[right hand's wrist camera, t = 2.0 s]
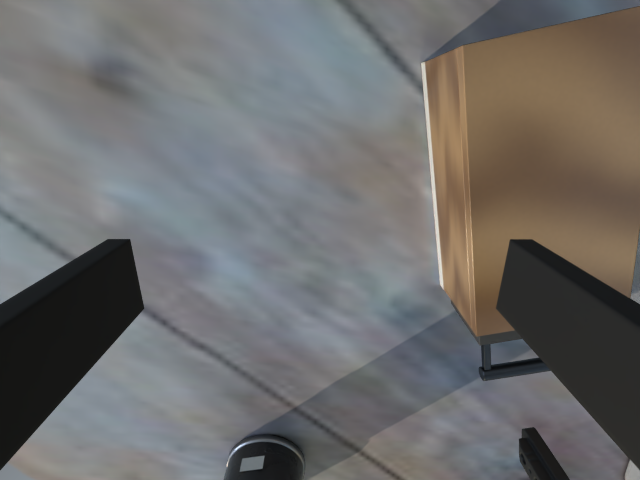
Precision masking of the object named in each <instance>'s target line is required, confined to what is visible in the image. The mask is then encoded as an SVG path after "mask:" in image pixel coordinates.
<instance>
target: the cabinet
mask: <svg viewBox="0 0 640 480" xmlns="http://www.w3.org/2000/svg"><path fill="white" fill-rule="evenodd" d="M421 68H422V79H423V91H424V102H425V114H426V125H427V137H428V148H429V160H430V171H431V183H432V194H433V206H434V217H435V229H436V240H437V252H438V263H439V275H440V285H441V286H442V288H443V289H444V290H445V291H446V293H447V294H448V296H449V297H450V299H451V300H452V302H453V303H454V305H455V306H456V307H457V309H458V310H459V312H460V313H461V315H462V316H463V318H464V319H465V321H466V322H467V324H468V325H469V326H470V328H471V329H472V331H473V332H474V334H475V335H476V336H483V335H489V334H495V333H501V332H507V331H514V328H513V327H512V326H511V325H510V324H509V323H508V322H507V321H506V319H505V318H504V317H503V316H502V315H501V314H500V313H499V312H498V310H497V309H496V305H497V300H498V295H499V290H500V285H501V281H502V276H503V271H504V266H505V261H506V256H507V251H508V246H509V241H510V239H533V240H534V241H536V242H538V243H539V244H541V245H542V246H544V247H546V248H547V249H549V250H551V251H552V252H554V253H556V254H557V255H559V256H561V257H562V258H564V259H566V260H567V261H569V262H571V263H572V264H574V265H576V266H577V267H579V268H580V269H582V270H584V271H585V272H587V273H589V274H590V275H592V276H594V277H595V278H597V279H599V280H600V281H602V282H604V283H605V284H607V285H609V286H610V287H612V288H614V289H615V290H617V291H618V292H620V293H622V294H623V295H625V296H627V297H628V298H630V297H631V290H632V282H633V275H634V268H635V260H636V253H637V246H638V238H639V231H640V6H638V7H633V8H629V9H624V10H620V11H615V12H610V13H606V14H601V15H597V16H592V17H588V18H583V19H579V20H574V21H570V22H565V23H561V24H556V25H552V26H547V27H543V28H538V29H534V30H529V31H525V32H520V33H516V34H511V35H507V36H502V37H498V38H493V39H489V40H484V41H480V42H475V43H471V44H466V45H462V46H460V47H458V48H455V49H453V50H451V51H449V52H446V53H444V54H442V55H439V56H437V57H435V58H433V59H430V60H428V61H425V62H423V63H421Z"/></svg>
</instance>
